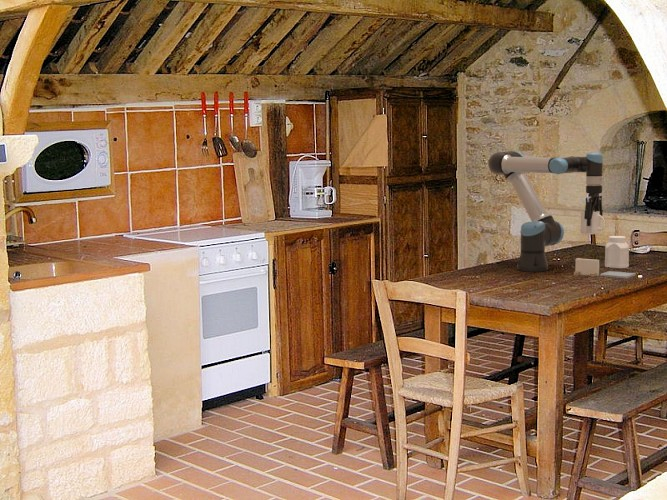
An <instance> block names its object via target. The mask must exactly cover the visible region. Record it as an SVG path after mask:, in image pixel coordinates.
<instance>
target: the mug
mask: <svg viewBox="0 0 667 500" xmlns="http://www.w3.org/2000/svg"><path fill="white" fill-rule="evenodd" d="M584 216H585V210H581V211H580V233H581V234H583V235H598V234H599V233H600V232H602V231H603V230H604V228H605V226H606V220H605V218H604V216H603V215H602V216H603V217H602V216H601V215H600V211H596V212H595V211H594V210H593V214H592V219H593V224H592V233H586V224H587V219H584ZM599 218H600V220H602V221H603V223H604V224H603V225H602V227H601V226H600V227H599Z"/></svg>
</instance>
